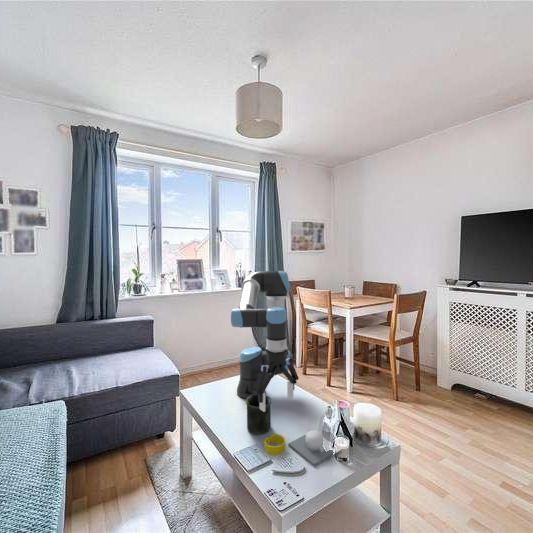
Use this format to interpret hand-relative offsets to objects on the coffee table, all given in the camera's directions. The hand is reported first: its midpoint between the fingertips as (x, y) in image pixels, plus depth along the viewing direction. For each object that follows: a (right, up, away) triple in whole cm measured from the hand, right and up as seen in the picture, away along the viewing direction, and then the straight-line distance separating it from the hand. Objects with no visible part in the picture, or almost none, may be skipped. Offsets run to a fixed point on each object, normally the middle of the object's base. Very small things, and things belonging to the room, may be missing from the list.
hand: (276, 404), depth 113 cm
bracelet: (-1, -17, +1) cm, 17 cm away
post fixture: (+14, -17, 0) cm, 22 cm away
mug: (-8, -17, +15) cm, 24 cm away
